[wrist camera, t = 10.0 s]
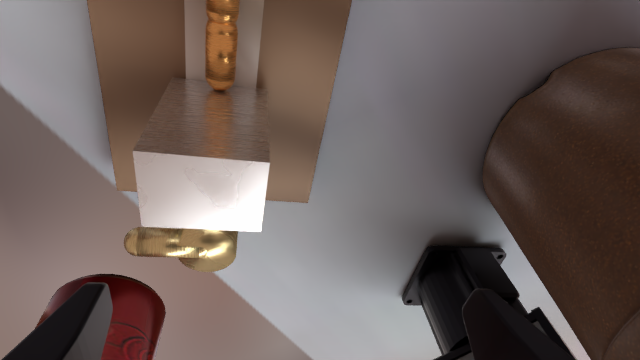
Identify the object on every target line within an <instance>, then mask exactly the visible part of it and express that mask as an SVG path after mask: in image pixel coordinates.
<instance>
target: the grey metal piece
mask: <svg viewBox="0 0 640 360" xmlns="http://www.w3.org/2000/svg"><path fill="white" fill-rule="evenodd" d="M239 6H240V0H206V14H207V17H208V21H207V23H206V30H205V78H206V81H207V82H206V81H198V80H191V79H183V78H175V77H173V78H172V79H171V81H170V83H169V85H168V87H167V89H166V90H165V92H164V94H163V96H162V98H161V100H160V101H159V103H158V105H157V107H156V109H155V111H154V113H153V114H152V116H151V118H150V120H149V122H148V124H147V125H146V127H145V129H144V131H143V133H142V135H141V136H140V138H139V140H138V142H137V144H136V146H135V147H134V149H133V158H134V167H135V175H136V183H137V192H138V200H139V208H140V217H141V225H142V226H143V227H165V228H186V229H208V230H229V231H251V232H261V227H262V219H263V212H264V204H265V197H266V189H267V181H268V174H269V166H270V150H269V121H268V91H267V89H260V88H252V87H245V86H237V85H233V84H234V81H235V74H236V57H237V40H238V29H237V25H236V22H237V20H238V17H239Z"/></svg>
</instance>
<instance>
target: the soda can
mask: <svg viewBox="0 0 640 360" xmlns="http://www.w3.org/2000/svg"><path fill="white" fill-rule="evenodd" d="M90 282H92V283H106V284H107V285H108V287H109V291H110V296H111V300H112V305H113V311H112V317H111V321H110V325H109V329H108V333H107V337H106V341H105V344H104V348H103V352H102V356H101V360H155V357H156V353H157V348H158V344H159V340H160V336H161V332H162V327H163V323H164V319H165V314H166V312H165V305H164V303H163V301H162V299H161V298H160V297H159V296H158V294H157V293H156V292H155V291H154V290H153V289H152V288H151V287H149V286H148V285H146V284H144V283H142V282H141V281H138V280H136V279H133V278H130V277H126V276H122V275H115V274H96V275H89V276H85V277H81V278H78V279H76V280H73V281H71V282H69V283H67V284H65V285H64V286H62V287H61V288H59V289H58V290H57V291H56V293H55V294H54V295H53V296H52V298H51V300H50V302H49V304H48V306H47V307H46V309H45V311H44V313H43V315H42V316H41V318H40V320H39V322H38V324H37V326H36V327H35V328H37V327H38V326H39V325H40V324H41V323H42V322H43V321H44V320H45V319H46V318H47V317H49V316H50V315H51V314H52V313H53V312H54V311H55V310H56V309H57V308H58V307H59V306H61V305H62V304H63V303H64V302H65V301H66V300H67V299H68V298H69V297H70V296H71V295H73V294H74V293H75V292H76V291H77V290H78V289H79V288H80V287H81V286H82V285H84V284H86V283H90Z"/></svg>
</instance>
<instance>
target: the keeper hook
mask: <svg viewBox="0 0 640 360" xmlns="http://www.w3.org/2000/svg"><path fill="white" fill-rule="evenodd" d="M237 235H238V231H229V230H208V229H186V228H182V229H177V228H155V227H138V228H134V229H132V230H130V231H129V232H128V233H127V235H126V236H125V239H124V247H125V249H126V250H127V252H128V253H130V254H132V255H134V256H146V257H178V258H179V260H180V261H181V262H182V263H183V264H184V265H185V266H187V267H189V268H191V269H193V270H197V271H202V272H213V271H218V270H221V269H224V268H226V267H227V266H229V265H230V264H231V263H232V262H233V261H234V259H235V257H236V249H237Z"/></svg>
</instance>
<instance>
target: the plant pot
mask: <svg viewBox="0 0 640 360" xmlns="http://www.w3.org/2000/svg"><path fill="white" fill-rule="evenodd" d="M483 185H484V189H485V192H486V195H487V197H488V199H489V201H490V202H491V204H492V205H493V207H494V208H495V210H496V211H497V213H498V214H499V216H500V217H501V219H502V220H503V222H504V223H505V225H506V227H507V228H508V230H509V231H510V233H511V234H512V236H513V238H514V239H515V241H516V242H517V244H518V245H519V247H520V249H521V250H522V252H523V253H524V255H525V256H526V258H527V260H528V261H529V263H530V264H531V266H532V267H533V269H534V270H535V272H536V274H537V275H538V277H539V278H540V280H541V281H542V283H543V284H544V286H545V288H546V289H547V291H548V292H549V294H550V295H551V297H552V298H553V300H554V302H555V303H556V305H557V306H558V308H559V309H560V311H561V312H562V314H563V316H564V317H565V319H566V320H567V322H568V324H569V325H570V327H571V328H572V330H573V332H574V333H575V335H576V336H577V338H578V340H579V341H580V343H581V344H582V346H583V348H584V349H585V351H586V352H587V354H588V356H589V357H590V359H591V360H640V48H615V49H608V50H604V51H600V52H595V53H592V54H589V55H586V56H583V57H580V58H577V59H575V60H573V61H571V62H569V63H567V64H565V65H564V66H562V67H560V68H558V69H556V70H554V71H553V72H552V73H551V75H550V77H549V79H548V80H547V82H546V83H545V84H544V85H543V86H541V87H540V88H538V89H537V90H535V91H534V92H532V93H531V94H529V95H528V96H526V97H523V98H521V99H519V100H518V101H517V102H516V103H515V104H514V105H513V107H512V108H511V109H510V110H509V111H508V113H507V114H506V116H505V117H504V118H503V120H502V121H501V123H500V124H499V126H498V127H497V129H496V131H495V133H494V135H493V137H492V139H491V141H490V144H489V146H488V149H487V152H486V156H485V160H484V165H483Z"/></svg>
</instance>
